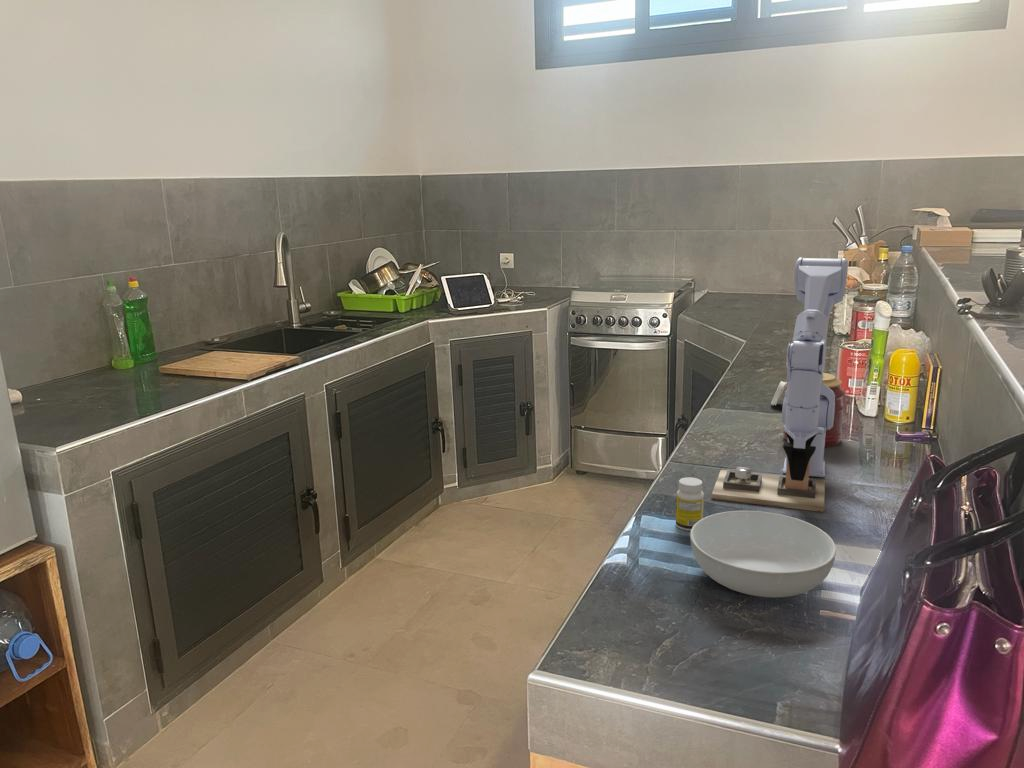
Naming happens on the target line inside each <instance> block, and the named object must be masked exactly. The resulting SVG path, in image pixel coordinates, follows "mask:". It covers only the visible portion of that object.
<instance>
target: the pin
mask: <svg viewBox="0 0 1024 768" xmlns="http://www.w3.org/2000/svg"><path fill="white" fill-rule="evenodd" d="M734 471H735V482H736V483H745V484H751V473H752V469H751V468H750V467H745V466H738V467H736V468H735V470H734Z"/></svg>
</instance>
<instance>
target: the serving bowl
mask: <svg viewBox="0 0 1024 768" xmlns="http://www.w3.org/2000/svg"><path fill="white" fill-rule="evenodd" d="M689 540H690V546H691V551H692V554H693V556H694V559H695V561H696V563H697V565H698V566H699V567H700V568H701V569H702V571H703V572H704V573H705V574H706V575H707V576H708V577H709V578H711V579H712V580H713V581H715V582H717V583H718V584H719V585H721V586H724V587H726V588H728V589H730V590H733V591H736V592H738V593H741V594H745V595H750V596H756V597H761V598H787V597H793V596H797V595H801V594H805V593H807V592H809V591H810V590H813V589H815V588H816V587H818V586H819V585H820V584H821V583H822V582H823V581H825V579H826V578H827V577H828V576H829V574H830V573H831V571H832V568H833V565H834V564H835V561H836V555H837V546H836V543H835V542H834V540H833V538H832V537H831V536H830V535H829V534H828V533H827V532H825V531H823V529H821V528H819V527H817V526H816V525H814V524H813V523H810V522H807V521H805V520H803V519H800V518H796V517H792V516H790V515H785V514H780V513H776V512H769V511H768V512H767V511H760V510H729V511H723V512H718V513H713V514H711V515H707V516H705V517H703V519H701V520H699V521H698V522H697V523H696V524H695V525H694V526H693V527H692V529H691V531H689Z"/></svg>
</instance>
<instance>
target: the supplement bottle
mask: <svg viewBox="0 0 1024 768" xmlns="http://www.w3.org/2000/svg"><path fill="white" fill-rule="evenodd" d="M675 499H676V500H675V503H676V505H675V525H676V528H678V529H680V530H683V531H687V532H691V529H692V527H693V526H694V525H695V524H696V523H697V522H698V521H699V520H701V519H703V518H704V511H705V510H704V509H705V493H704V492H703V481H702V480H701V479H700V478H698V477H697V478H696V477H691V476H689V477H688V476H686V477H681V478H680V479H679V480H678V490H677V491H676V498H675Z"/></svg>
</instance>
